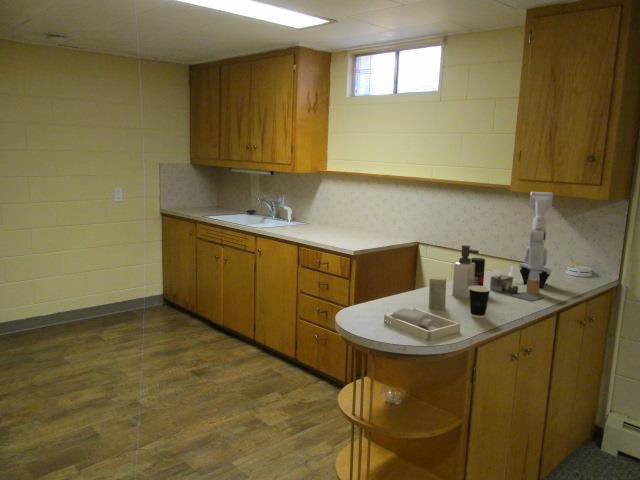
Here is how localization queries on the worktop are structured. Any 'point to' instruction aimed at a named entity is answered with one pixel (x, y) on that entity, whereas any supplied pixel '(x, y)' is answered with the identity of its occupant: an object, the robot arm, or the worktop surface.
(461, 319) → the worktop surface
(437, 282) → the skincare box
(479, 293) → the dixie cup
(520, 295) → the rubber mat
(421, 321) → the charger
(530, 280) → the block
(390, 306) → the worktop surface
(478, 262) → the deodorant
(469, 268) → the soap dispenser
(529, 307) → the worktop surface
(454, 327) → the tray
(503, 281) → the junction box
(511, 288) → the black knob
